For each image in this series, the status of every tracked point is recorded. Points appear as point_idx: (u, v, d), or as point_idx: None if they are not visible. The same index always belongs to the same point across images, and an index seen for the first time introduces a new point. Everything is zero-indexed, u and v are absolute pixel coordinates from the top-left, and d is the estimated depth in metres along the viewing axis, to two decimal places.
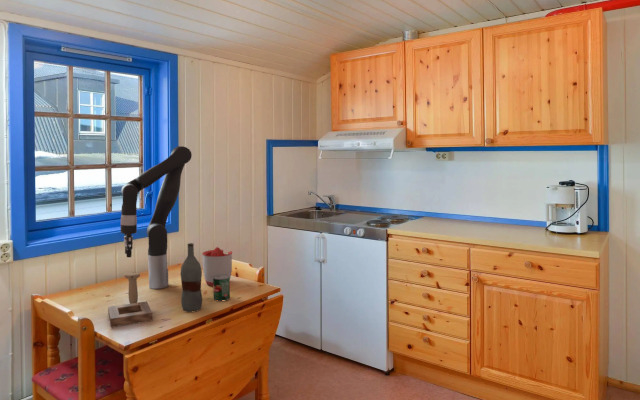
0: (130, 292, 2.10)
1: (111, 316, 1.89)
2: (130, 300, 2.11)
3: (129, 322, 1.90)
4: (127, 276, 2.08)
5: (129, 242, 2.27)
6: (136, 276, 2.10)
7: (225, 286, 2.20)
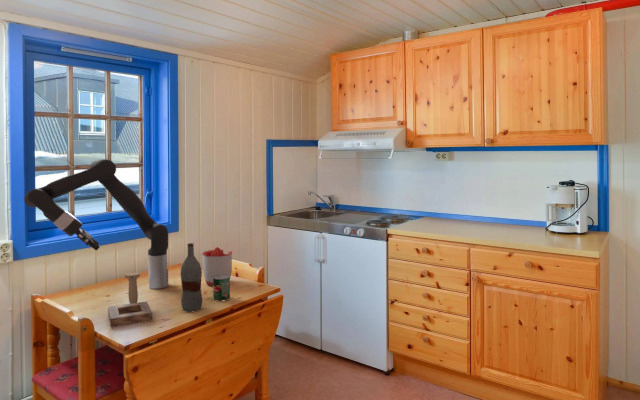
0: (130, 292, 2.10)
1: (111, 316, 1.89)
2: (130, 300, 2.11)
3: (129, 322, 1.90)
4: (127, 276, 2.08)
5: (83, 238, 2.00)
6: (136, 276, 2.10)
7: (225, 286, 2.20)
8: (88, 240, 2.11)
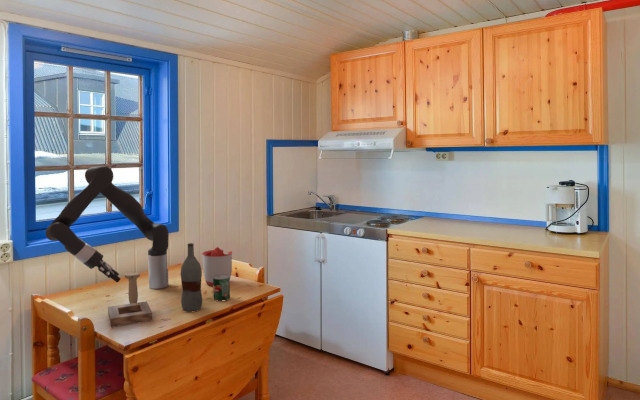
0: (130, 292, 2.10)
1: (111, 316, 1.89)
2: (130, 300, 2.11)
3: (129, 322, 1.90)
4: (127, 276, 2.08)
5: (104, 271, 1.99)
6: (136, 276, 2.10)
7: (225, 286, 2.20)
8: (108, 271, 2.10)
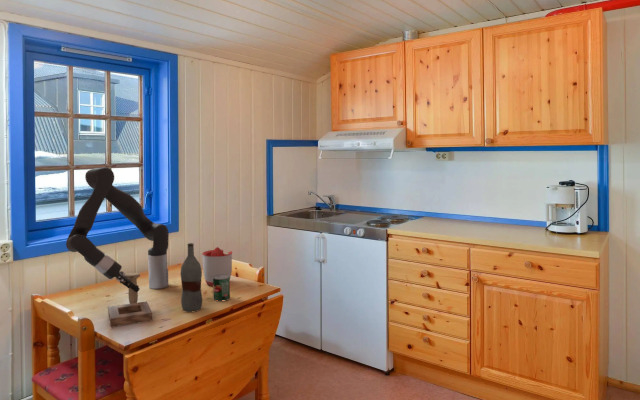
0: (130, 292, 2.10)
1: (111, 316, 1.89)
2: (130, 300, 2.11)
3: (129, 322, 1.90)
4: (127, 276, 2.08)
5: (126, 283, 2.05)
6: (136, 276, 2.10)
7: (225, 286, 2.20)
8: (128, 284, 2.12)
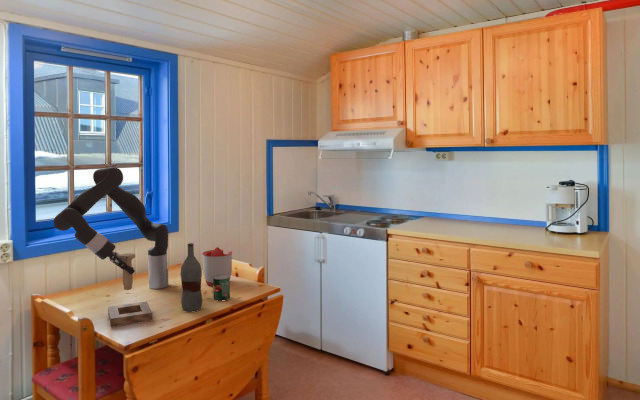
0: (124, 274, 1.94)
1: (111, 316, 1.89)
2: (124, 283, 1.95)
3: (129, 322, 1.90)
4: (121, 257, 1.93)
5: (119, 264, 1.89)
6: (131, 257, 1.94)
7: (225, 286, 2.20)
8: (123, 265, 1.96)
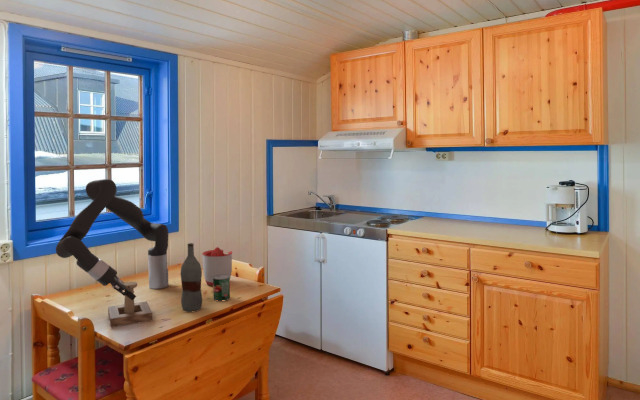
0: (126, 303, 1.95)
1: (111, 316, 1.89)
2: (126, 311, 1.96)
3: (129, 322, 1.90)
4: None
5: (120, 289, 1.89)
6: (133, 286, 1.95)
7: (225, 286, 2.20)
8: (123, 289, 1.99)
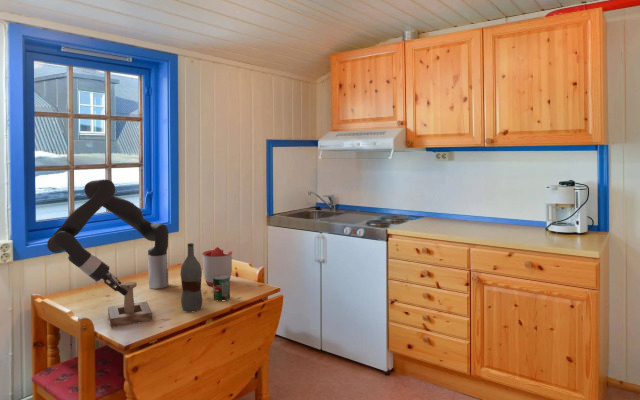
0: (126, 303, 1.95)
1: (111, 316, 1.89)
2: (126, 311, 1.96)
3: (129, 322, 1.90)
4: (123, 286, 1.94)
5: (111, 284, 1.87)
6: (132, 286, 1.95)
7: (225, 286, 2.20)
8: None
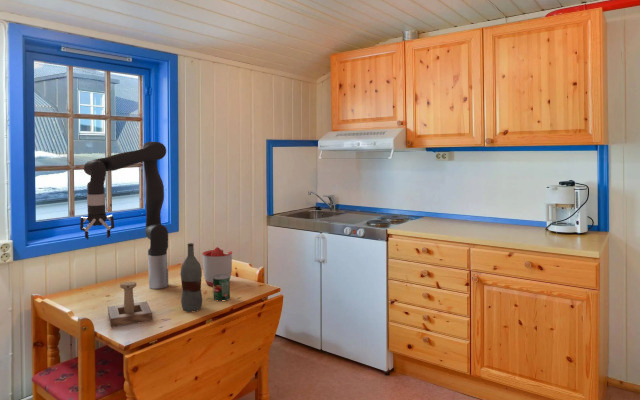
0: (126, 303, 1.95)
1: (111, 316, 1.89)
2: (126, 311, 1.96)
3: (129, 322, 1.90)
4: (122, 286, 1.94)
5: None
6: (132, 286, 1.95)
7: (225, 286, 2.20)
8: (107, 228, 2.18)
